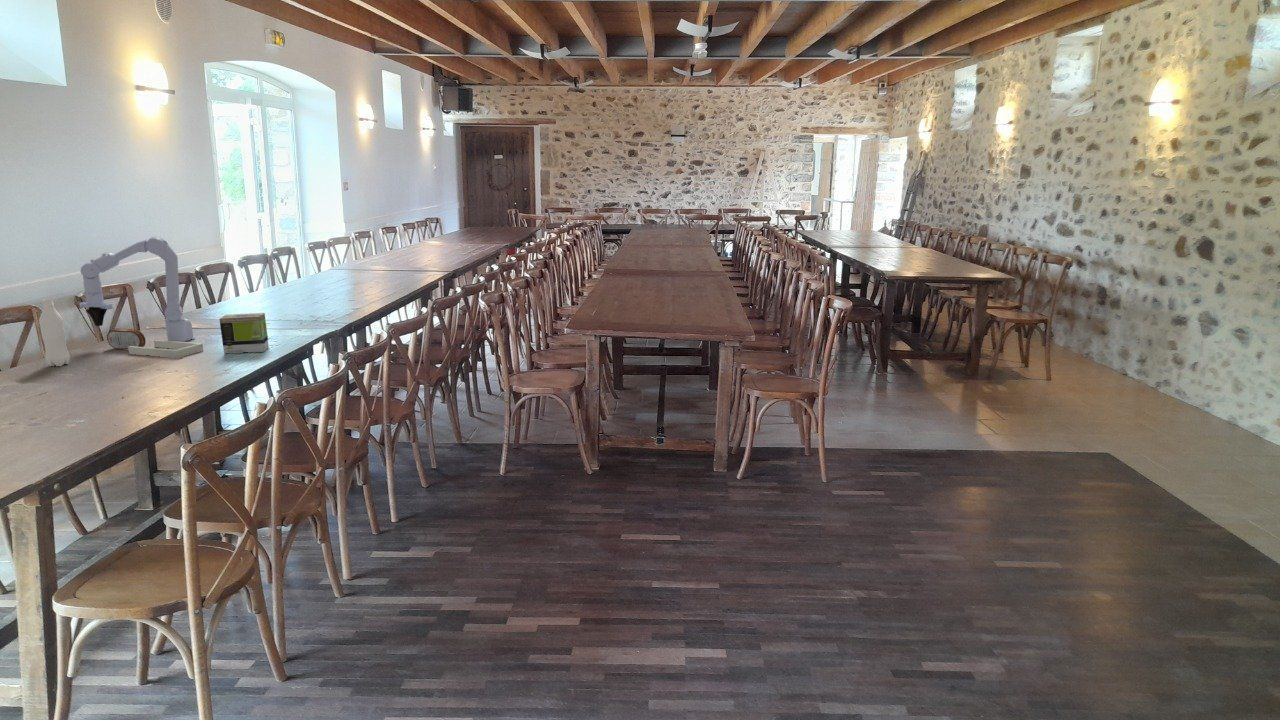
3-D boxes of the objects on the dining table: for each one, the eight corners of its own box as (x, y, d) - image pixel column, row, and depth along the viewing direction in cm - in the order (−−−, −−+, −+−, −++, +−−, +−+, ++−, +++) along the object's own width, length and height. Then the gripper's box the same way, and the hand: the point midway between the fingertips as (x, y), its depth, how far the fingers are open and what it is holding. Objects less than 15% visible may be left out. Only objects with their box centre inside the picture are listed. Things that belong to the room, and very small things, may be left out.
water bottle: (74, 364, 284) (63, 298, 278) (52, 368, 278) (40, 301, 272) (65, 362, 288) (53, 296, 282) (43, 365, 282) (31, 299, 276)
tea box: (269, 347, 316) (265, 312, 312) (264, 352, 307) (260, 316, 303) (229, 348, 312) (225, 313, 309) (223, 354, 303) (218, 318, 299)
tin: (147, 349, 310) (144, 328, 308) (141, 350, 307) (138, 330, 305) (113, 347, 311) (110, 327, 309) (107, 349, 308) (103, 329, 306)
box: (156, 346, 313) (155, 339, 313) (203, 350, 308) (202, 343, 307) (129, 354, 301) (128, 346, 300) (177, 358, 296) (176, 350, 295)
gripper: (70, 293, 304) (75, 326, 308) (99, 295, 301) (104, 328, 304) (86, 290, 311) (91, 323, 314) (115, 292, 308) (120, 325, 311)
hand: (99, 325), depth 310 cm, fingers closed
